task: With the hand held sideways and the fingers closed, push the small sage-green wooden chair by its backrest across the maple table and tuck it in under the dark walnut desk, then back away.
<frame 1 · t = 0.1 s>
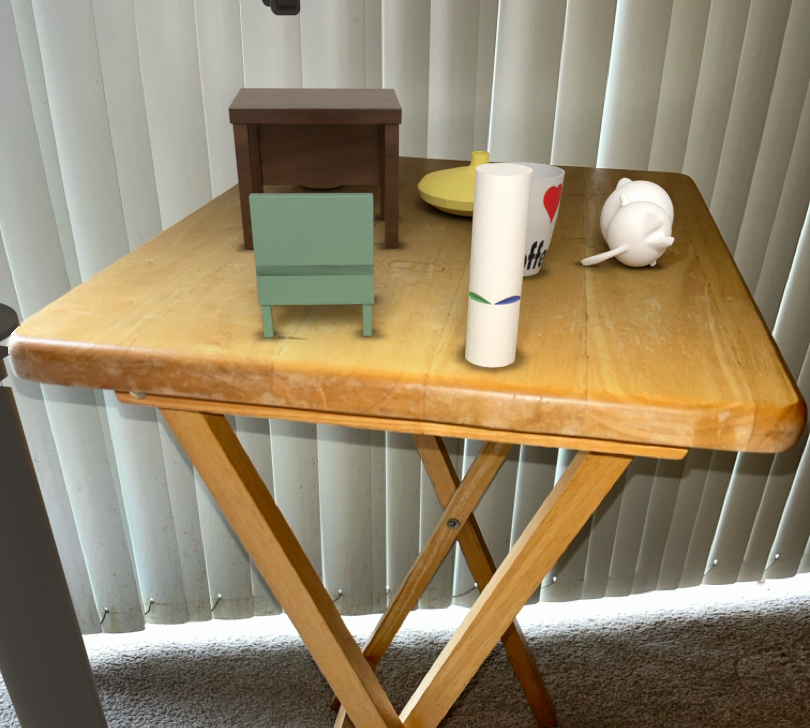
hand: (280, 10, 67), 24 cm above the table, tool pointing down, fingers open, 8 cm apart
cat figurine: (623, 261, 94), on the table
desk: (322, 231, 101), on the table
cup: (515, 270, 91), on the table
tube: (489, 359, 72), on the table
mug: (319, 189, 119), on the table
vase: (476, 212, 110), on the table
chair: (319, 317, 79), on the table
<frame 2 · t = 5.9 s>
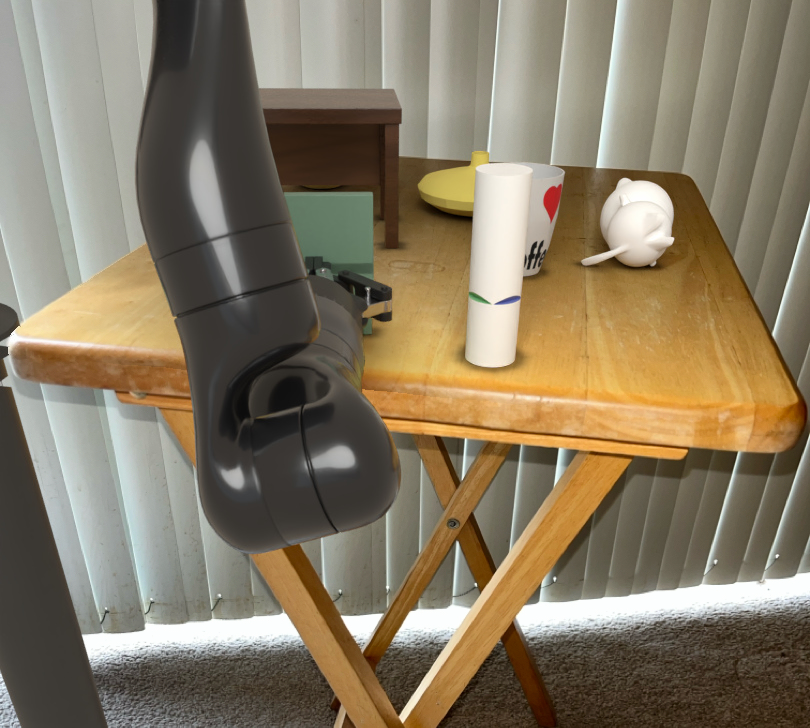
hand: (314, 267, 71), 6 cm above the table, tool horizontal, fingers closed
chair: (319, 315, 79), on the table, touching gripper
everything else where it was.
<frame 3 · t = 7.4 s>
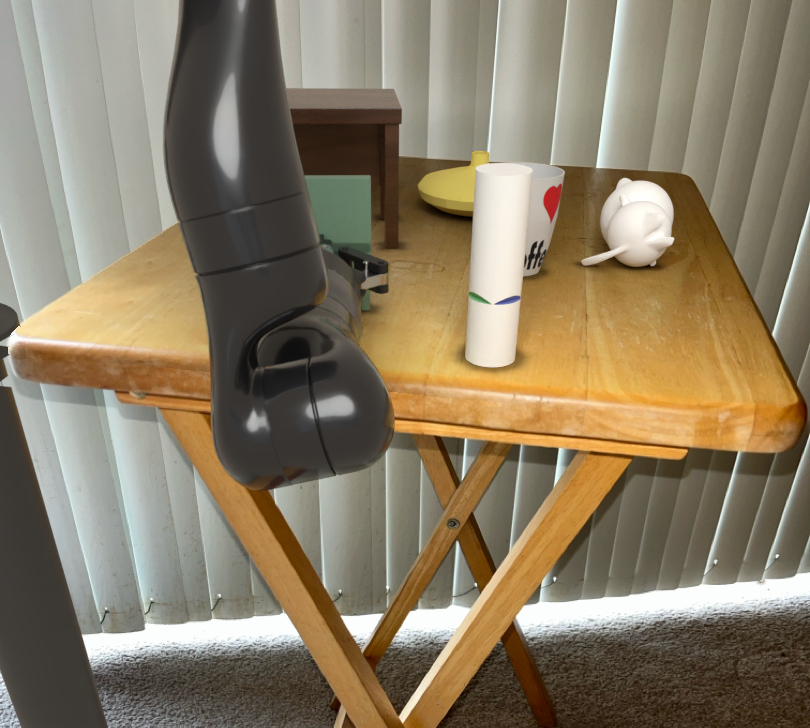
hand: (316, 245, 76), 6 cm above the table, tool horizontal, fingers closed
chair: (320, 293, 84), on the table, touching gripper
everything else where it was.
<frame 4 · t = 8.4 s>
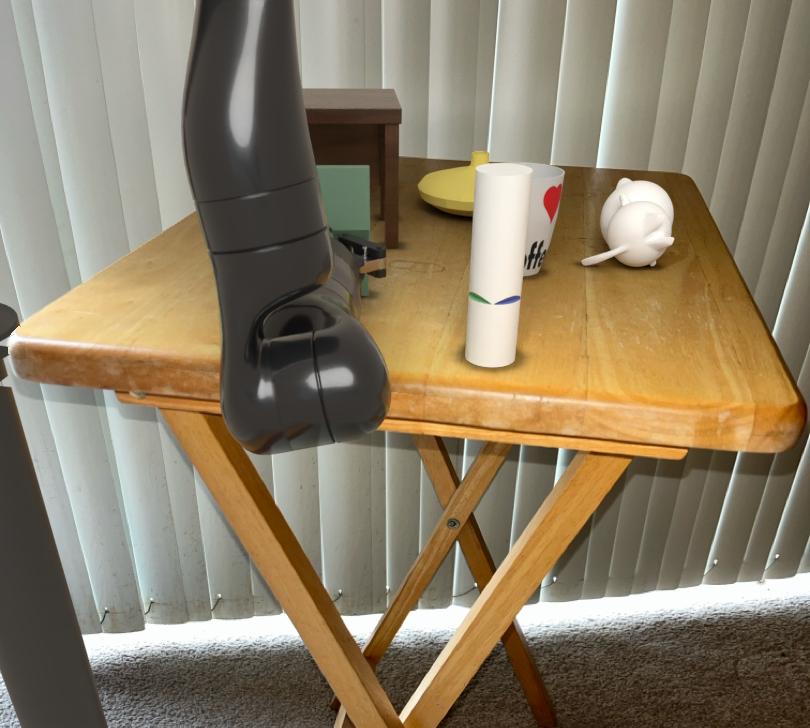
hand: (317, 232, 79), 6 cm above the table, tool horizontal, fingers closed
chair: (321, 280, 87), on the table, touching gripper
everything else where it was.
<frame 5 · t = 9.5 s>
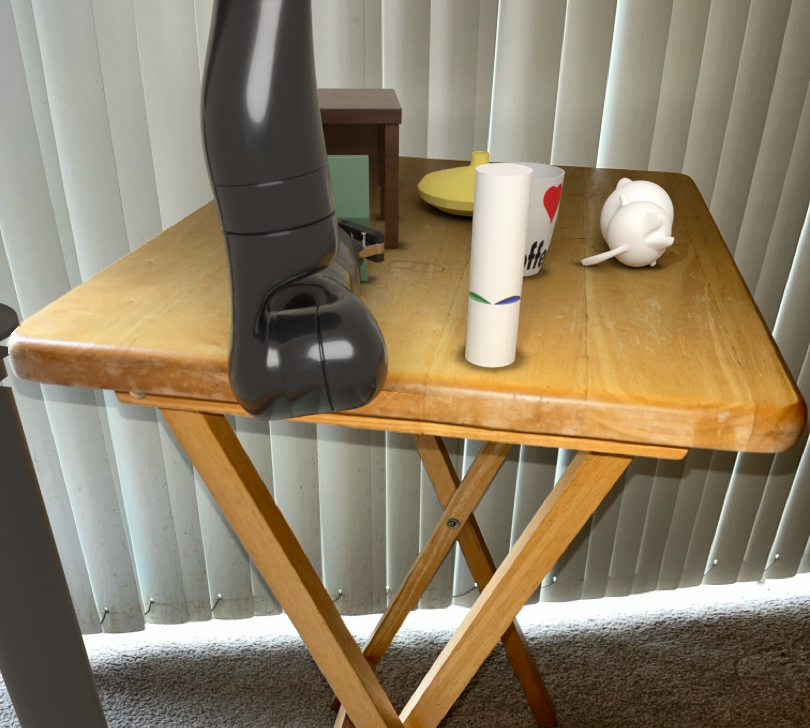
hand: (318, 220, 83), 6 cm above the table, tool horizontal, fingers closed
chair: (322, 267, 91), on the table
everything else where it was.
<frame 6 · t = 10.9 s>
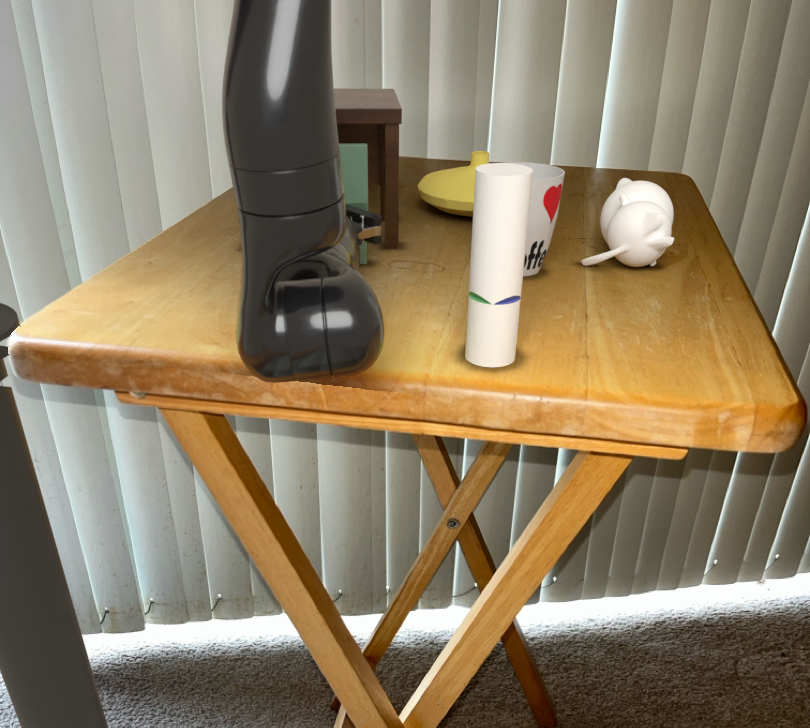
hand: (319, 205, 88), 6 cm above the table, tool horizontal, fingers closed
chair: (323, 251, 95), on the table
everything else where it was.
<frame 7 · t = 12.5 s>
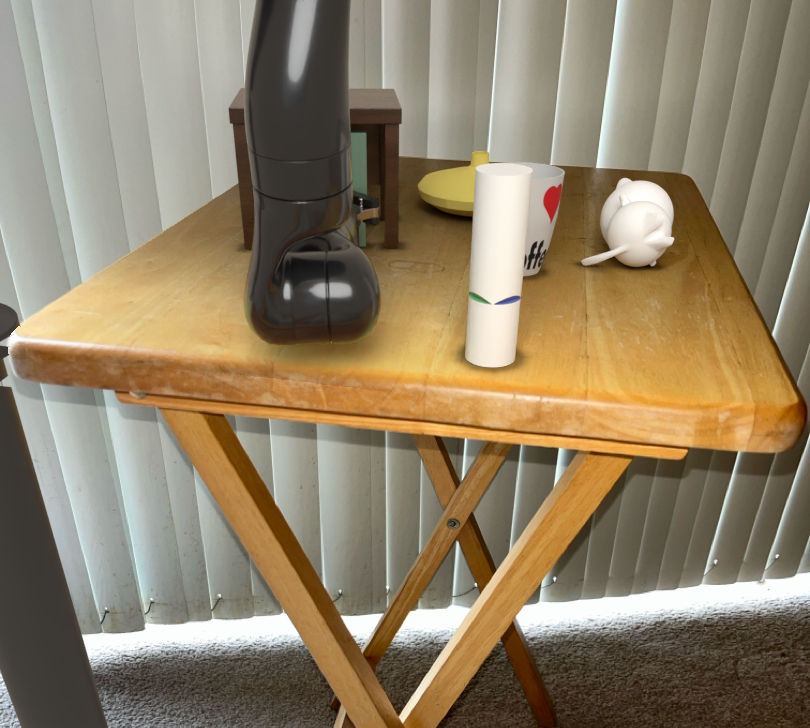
hand: (320, 190, 93), 6 cm above the table, tool horizontal, fingers closed
chair: (324, 235, 100), on the table, touching gripper
everything else where it was.
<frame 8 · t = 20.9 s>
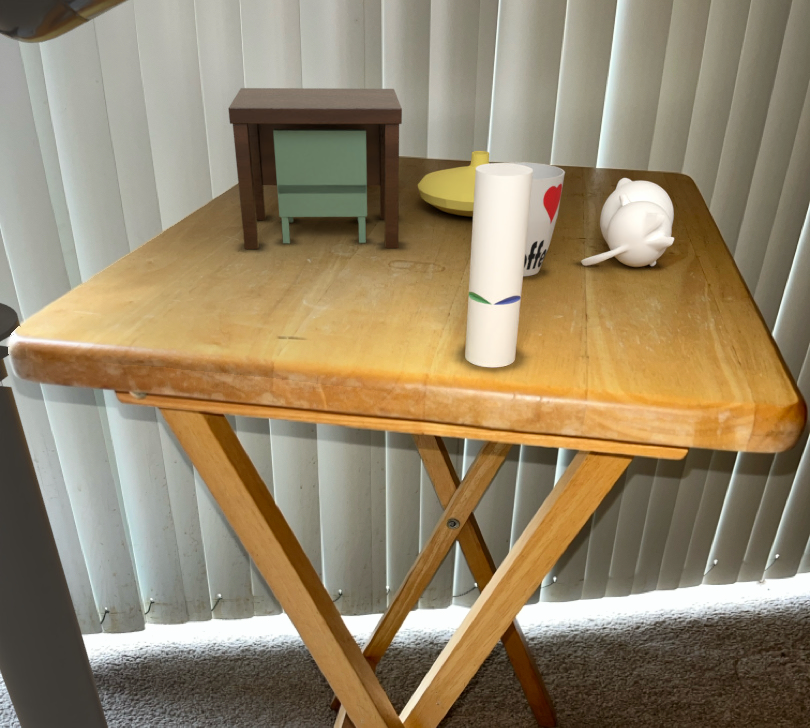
chair: (325, 231, 102), on the table
everything else where it was.
at the end: chair 1.1 cm off-centre on the desk, point 0.0 cm above the desk's base; chair tilted 0° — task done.
